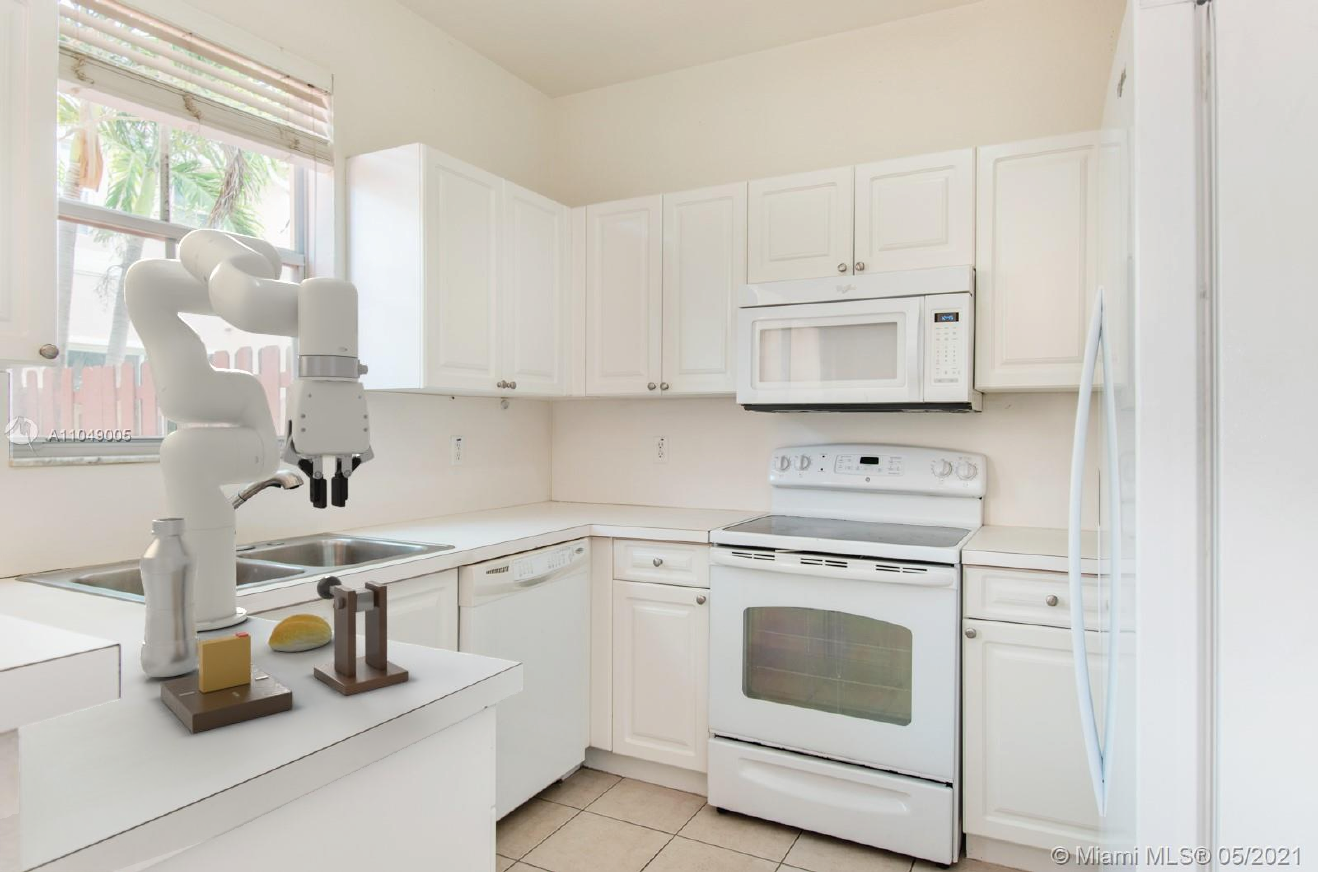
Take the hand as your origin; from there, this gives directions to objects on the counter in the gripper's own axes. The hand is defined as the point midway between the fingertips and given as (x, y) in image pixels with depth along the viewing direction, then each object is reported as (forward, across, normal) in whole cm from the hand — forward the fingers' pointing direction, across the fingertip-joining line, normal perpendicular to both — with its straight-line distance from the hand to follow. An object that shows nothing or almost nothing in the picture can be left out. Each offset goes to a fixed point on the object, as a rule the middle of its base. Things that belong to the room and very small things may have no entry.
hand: (329, 506), depth 105 cm
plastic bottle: (+21, +17, -8) cm, 28 cm away
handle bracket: (+21, 0, +10) cm, 23 cm away
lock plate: (+21, +15, +8) cm, 27 cm away
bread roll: (+21, 0, -11) cm, 24 cm away
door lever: (+13, 0, +5) cm, 14 cm away
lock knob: (+19, +15, +8) cm, 26 cm away
